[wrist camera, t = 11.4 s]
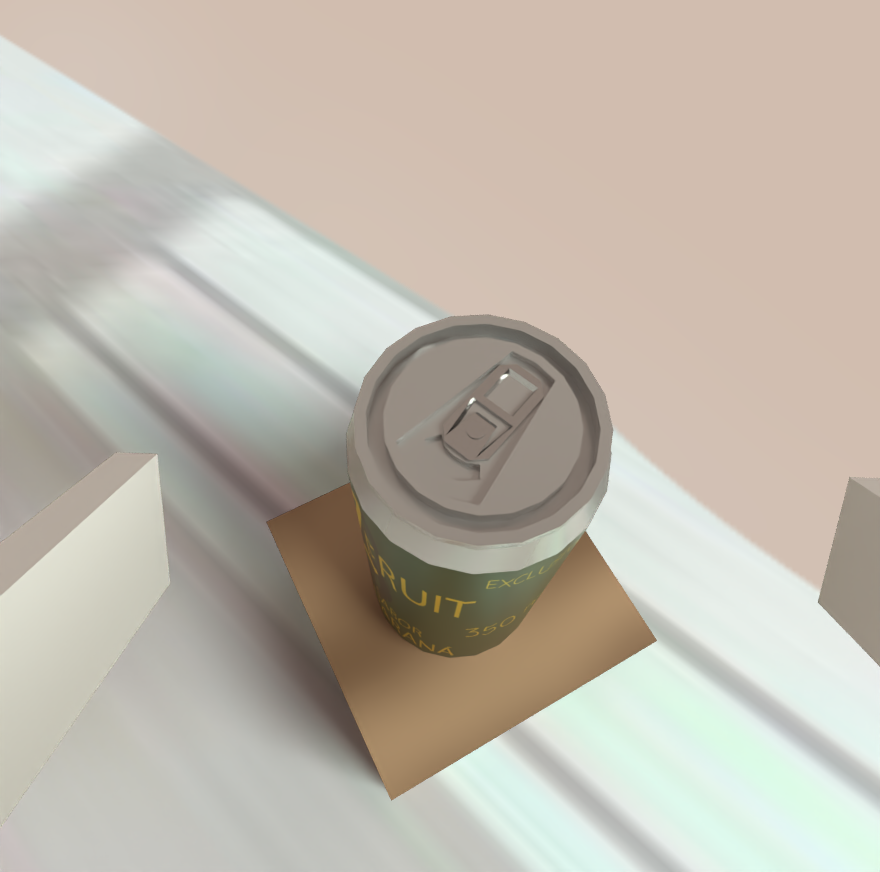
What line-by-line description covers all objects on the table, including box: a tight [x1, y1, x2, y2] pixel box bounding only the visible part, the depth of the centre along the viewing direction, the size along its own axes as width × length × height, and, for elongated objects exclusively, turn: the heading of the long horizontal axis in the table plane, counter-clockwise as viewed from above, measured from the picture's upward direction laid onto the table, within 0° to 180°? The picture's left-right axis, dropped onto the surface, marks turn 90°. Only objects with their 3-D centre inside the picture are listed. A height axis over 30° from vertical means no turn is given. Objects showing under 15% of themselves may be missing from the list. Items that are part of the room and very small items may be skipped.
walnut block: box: [267, 483, 657, 800], centre depth 26 cm, size 10×10×6 cm
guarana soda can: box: [346, 315, 613, 658], centre depth 18 cm, size 5×5×12 cm
